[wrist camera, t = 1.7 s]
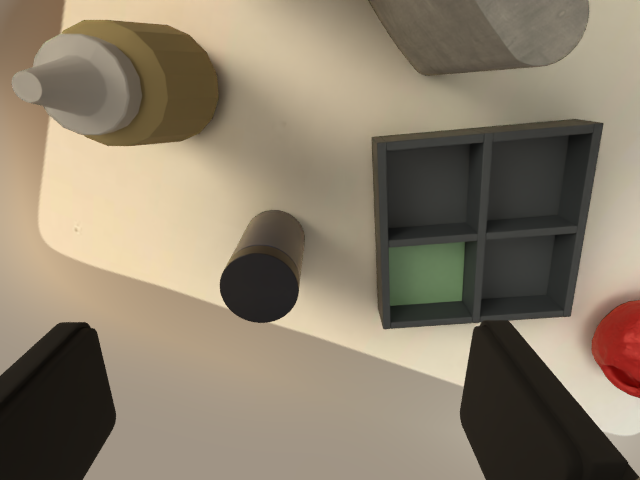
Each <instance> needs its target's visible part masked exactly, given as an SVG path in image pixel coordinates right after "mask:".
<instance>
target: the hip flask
mask: <svg viewBox="0 0 640 480" xmlns="http://www.w3.org/2000/svg"><path fill="white" fill-rule="evenodd" d="M369 2H370V4H371V5H372V7H373V9H374V11H375V12H376V14H377V16H378V18H379V19H380V21H381V23H382V24H383V26H384V27H385V29H386V30H387V32H388V34H389V35H390V37H391V38H392V39H393V41H394V42H395V44H396V45H397V47H398V48H399V49H400V51H401V52H402V53H403V54H404V56H405V57H406V58H407V60H408V61H409V62H410V63H411V64H412V66H413V67H414V68H415V69H416V70H417V71H418V72H419V73H421V74H423V75H428V76H430V75H443V74H455V73H467V72H479V71H492V70H504V69H516V68H528V67H540V66H547V65H550V64H553V63H556V62H557V61H559V60H561V59H563V58H564V57H565V56H567V55H568V54H569V53H570V52H571V51H572V50H573V49H574V48H575V47H576V45H577V44H578V42H579V41H580V40H581V38H582V36H583V34H584V32H585V30H586V26H587V23H588V18H589V1H588V0H369Z"/></svg>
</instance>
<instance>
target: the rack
mask: <svg viewBox="0 0 640 480" xmlns="http://www.w3.org/2000/svg"><path fill="white" fill-rule="evenodd" d="M602 129H603V123H600V122H592V121H585V120H578V119H571V120H560V121H548V122H537V123H526V124H514V125H503V126H492V127H481V128H469V129H458V130H447V131H435V132H424V133H413V134H401V135H390V136H379V137H372V158H373V184H374V210H375V236H376V262H377V288H378V310H379V314H380V318H381V322H382V326H383V329H390V328H391V329H393V328H407V327H422V326H436V325H451V324H465V323H479V322H482V321H484V320H506V321H509V320H523V319H538V318H552V317H562V316H563V317H569V316H571V311H572V305H573V299H574V293H575V287H576V281H577V275H578V270H579V264H580V258H581V252H582V246H583V240H584V234H585V229H586V223H587V217H588V211H589V205H590V199H591V193H592V187H593V182H594V176H595V170H596V164H597V158H598V152H599V146H600V141H601V135H602Z"/></svg>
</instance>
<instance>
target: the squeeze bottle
mask: <svg viewBox="0 0 640 480" xmlns="http://www.w3.org/2000/svg"><path fill="white" fill-rule="evenodd" d="M12 87H13V90H14V91H15V93H16V95H17V96H18V97H19V98H20V99H22V100H24V101H26V102H29V103H33V104H37V105H41V106H43V107H44V108H45V110H46V112H47V113H48V115H50V116H51V117H52V118H53V119H54V120H56V121H57V122H58V123H59V124H60V125H61V126H63V127H64V128H66V129H69V130H71V131H73V132H76V133H78V134H81V135H84V136H85V137H87V138H90V139H92V140H95V141H97V142H100V143H102V144H105V145H107V146H135V145H146V144H157V143H168V142H178V141H183V140H185V139H188V138H190V137H192V136H194V135H197V134H199V133H200V132H201V131H202V130H203V129H204V127H205V126H206V125H207V124H208V123H209V122H210V121H211V119H212V118H213V115H214V112H215V109H216V105H217V102H218V99H219V94H218V82H217V74H216V72H215V70H214V67H213V65H212V63H211V61H210V59H209V57H208V54H207V53H206V51H205V50H204V49H203V48H202V47H201V46H200V45H199V44H198V43H197V42H196V41H195V40H194V39H193V38H192V37H191V36H190V35H188V34H186V33H184V32H181V31H179V30H177V29H175V28H173V27H170V26H168V25H159V24H147V23H135V22H123V21H112V20H83V21H81V22H79V23H77V24H76V25H74V26H72V27H70V28H68V29H66V30H64V31H63V32H62V34H59V35H57V36H55V37H54V38H52V39H50V40H48V41H46V42H44V44H43V45H42V47H41V48H40V50H39V51H38V53H37V54H36V56H35V58H34V65H33V67H32V68H29V69H26V70H23V71H20V72H18V73H16V74H15V75H14V77H13V78H12Z"/></svg>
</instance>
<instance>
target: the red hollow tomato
mask: <svg viewBox="0 0 640 480" xmlns="http://www.w3.org/2000/svg"><path fill="white" fill-rule="evenodd" d="M592 354H593V356H594V359H595V361H596V362H597V364H598V365H599V366H600V367H601V369H602V371H603V373H604V374H605V376H606V377H607V378H608V380H609V381H610V382H611V383H612V384H613V385H615V386H616V387H617V388H619V389H620V390H622V391H624V392H626V393H627V394H629V395H632V396H635V397H638V398H640V300H637V301H629V302H627V303H624V304H621V305H620V306H618V307H616V308H615V309H614V310H612V311H611V312H610V313H609V314H608V315H607V316H606V317H605V318H604V319H603V320H602V321H601V322H600V324H599V325H598V326H597V329H596V331H595V334H594V337H593V340H592Z"/></svg>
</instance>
